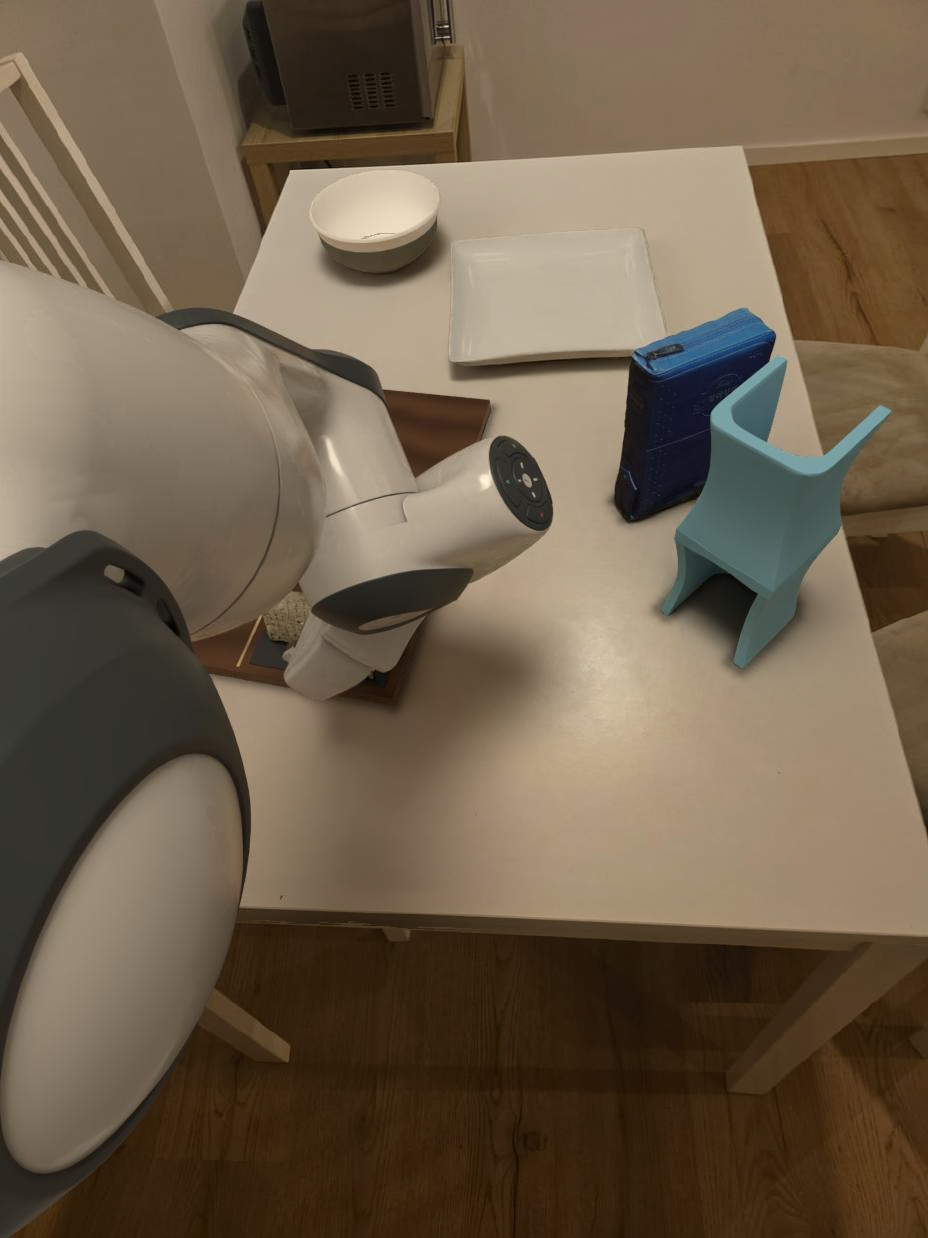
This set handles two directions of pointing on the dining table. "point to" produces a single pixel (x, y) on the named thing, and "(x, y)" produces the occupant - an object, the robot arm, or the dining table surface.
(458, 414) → the board
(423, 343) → the dining table surface
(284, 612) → the cuneiform tablet
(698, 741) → the dining table surface
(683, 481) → the book
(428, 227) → the bowl
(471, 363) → the square plate
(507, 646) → the dining table surface
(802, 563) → the light blue toy chair
